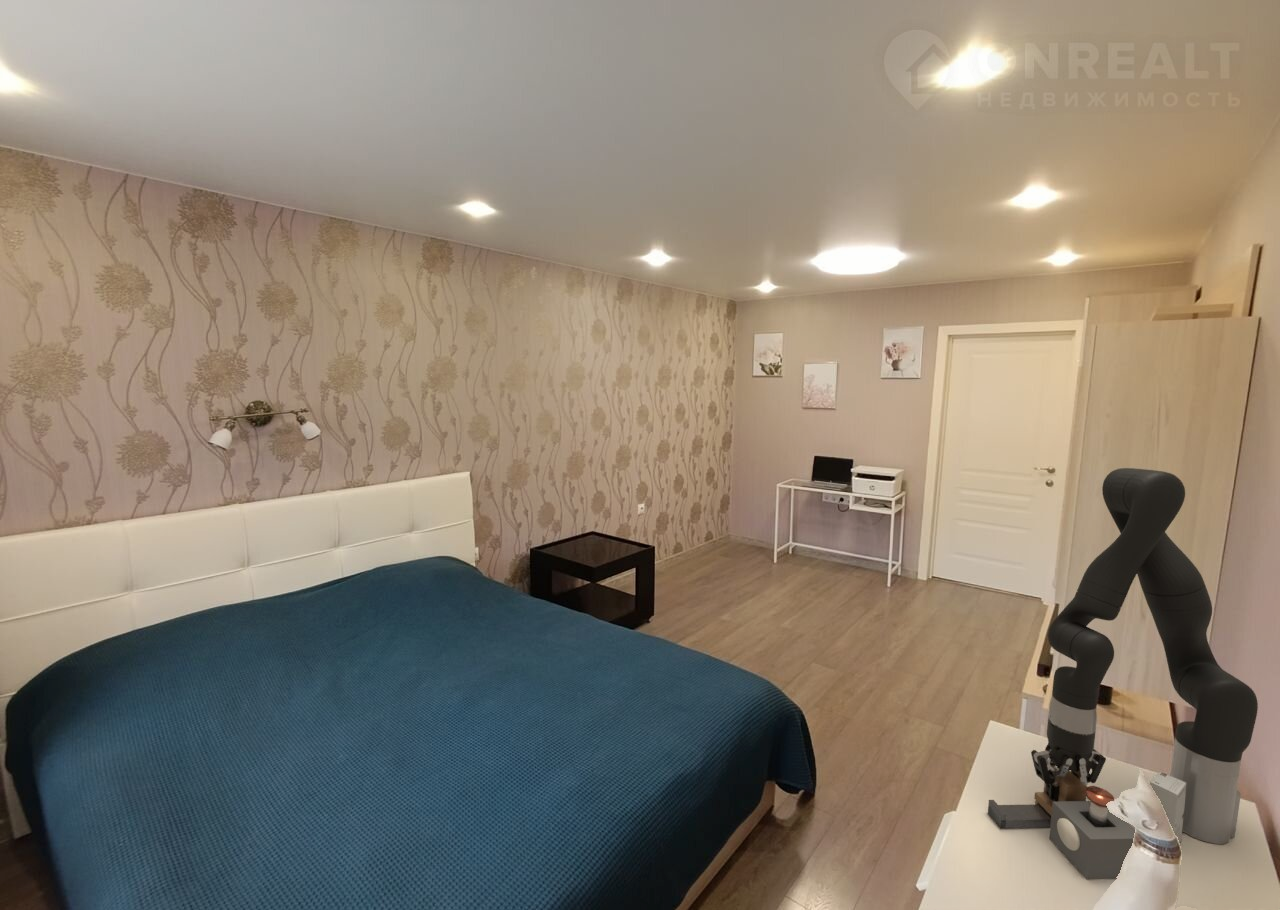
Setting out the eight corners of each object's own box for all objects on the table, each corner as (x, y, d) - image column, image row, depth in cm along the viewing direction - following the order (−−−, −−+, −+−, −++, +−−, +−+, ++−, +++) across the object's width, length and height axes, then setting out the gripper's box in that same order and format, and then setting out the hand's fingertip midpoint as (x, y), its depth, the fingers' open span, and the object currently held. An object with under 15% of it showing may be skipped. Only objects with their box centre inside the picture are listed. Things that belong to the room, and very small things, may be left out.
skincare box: (1172, 854, 105) (1180, 796, 104) (1141, 838, 109) (1148, 782, 107) (1182, 839, 109) (1189, 783, 107) (1152, 824, 112) (1158, 769, 111)
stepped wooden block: (1066, 806, 117) (1070, 765, 116) (1091, 831, 110) (1096, 787, 109) (1033, 807, 117) (1037, 765, 115) (1056, 831, 110) (1061, 788, 109)
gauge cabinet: (1099, 837, 109) (1103, 800, 108) (1140, 878, 100) (1145, 838, 99) (1046, 838, 109) (1050, 801, 108) (1084, 879, 100) (1088, 839, 99)
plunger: (1097, 820, 106) (1101, 785, 105) (1116, 837, 102) (1120, 801, 101) (1077, 820, 106) (1080, 786, 105) (1094, 837, 102) (1098, 801, 101)
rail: (1082, 812, 116) (1084, 798, 115) (1098, 827, 112) (1100, 813, 111) (987, 813, 115) (988, 799, 115) (1000, 829, 111) (1001, 814, 111)
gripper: (1091, 709, 115) (1083, 785, 117) (1023, 710, 114) (1016, 786, 117) (1123, 732, 107) (1114, 813, 109) (1050, 733, 107) (1042, 814, 109)
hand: (1063, 799), depth 113 cm, fingers open, 4 cm apart
